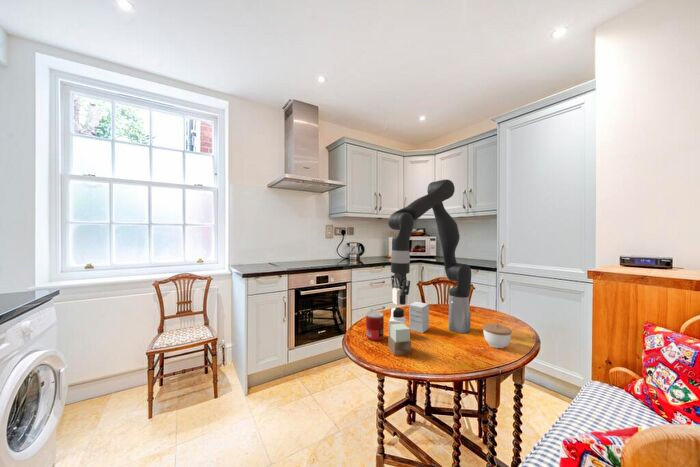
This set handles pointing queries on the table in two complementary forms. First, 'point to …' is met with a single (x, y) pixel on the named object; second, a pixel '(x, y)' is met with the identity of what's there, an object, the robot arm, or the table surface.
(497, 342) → the lidded jar
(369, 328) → the canned food
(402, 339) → the sage block
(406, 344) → the walnut base block
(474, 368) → the table surface
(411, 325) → the supplement box
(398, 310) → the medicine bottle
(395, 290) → the cream block
